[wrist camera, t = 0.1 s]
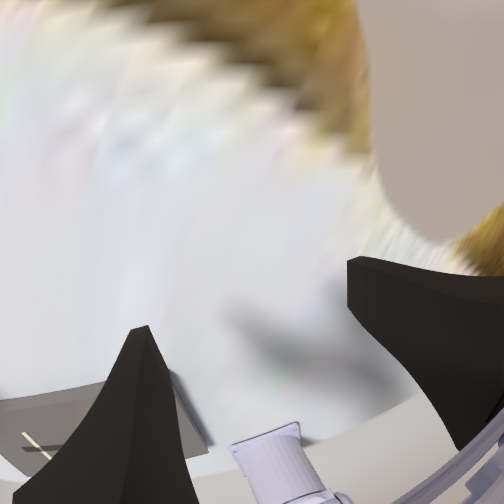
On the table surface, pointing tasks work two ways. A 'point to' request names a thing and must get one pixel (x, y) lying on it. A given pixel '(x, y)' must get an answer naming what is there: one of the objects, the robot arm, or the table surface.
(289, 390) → the table surface
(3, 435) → the board
